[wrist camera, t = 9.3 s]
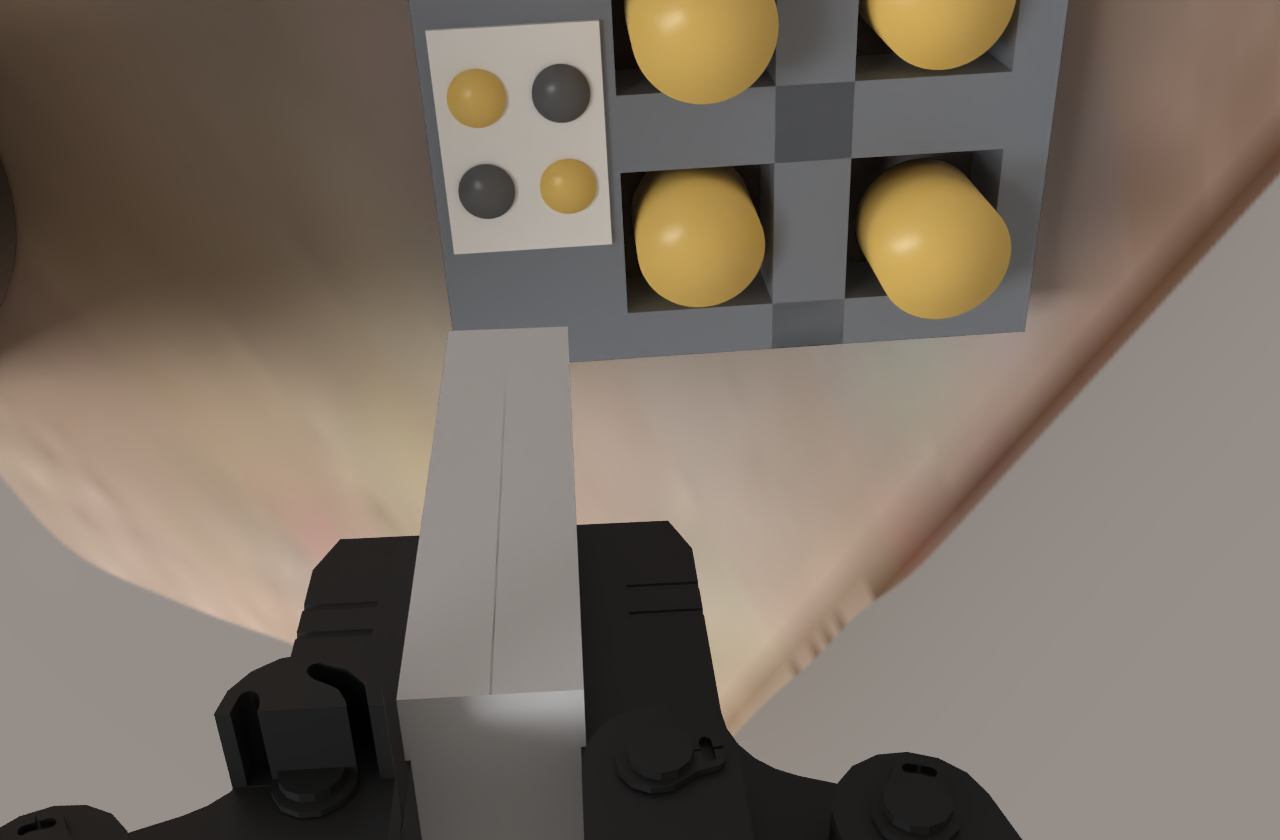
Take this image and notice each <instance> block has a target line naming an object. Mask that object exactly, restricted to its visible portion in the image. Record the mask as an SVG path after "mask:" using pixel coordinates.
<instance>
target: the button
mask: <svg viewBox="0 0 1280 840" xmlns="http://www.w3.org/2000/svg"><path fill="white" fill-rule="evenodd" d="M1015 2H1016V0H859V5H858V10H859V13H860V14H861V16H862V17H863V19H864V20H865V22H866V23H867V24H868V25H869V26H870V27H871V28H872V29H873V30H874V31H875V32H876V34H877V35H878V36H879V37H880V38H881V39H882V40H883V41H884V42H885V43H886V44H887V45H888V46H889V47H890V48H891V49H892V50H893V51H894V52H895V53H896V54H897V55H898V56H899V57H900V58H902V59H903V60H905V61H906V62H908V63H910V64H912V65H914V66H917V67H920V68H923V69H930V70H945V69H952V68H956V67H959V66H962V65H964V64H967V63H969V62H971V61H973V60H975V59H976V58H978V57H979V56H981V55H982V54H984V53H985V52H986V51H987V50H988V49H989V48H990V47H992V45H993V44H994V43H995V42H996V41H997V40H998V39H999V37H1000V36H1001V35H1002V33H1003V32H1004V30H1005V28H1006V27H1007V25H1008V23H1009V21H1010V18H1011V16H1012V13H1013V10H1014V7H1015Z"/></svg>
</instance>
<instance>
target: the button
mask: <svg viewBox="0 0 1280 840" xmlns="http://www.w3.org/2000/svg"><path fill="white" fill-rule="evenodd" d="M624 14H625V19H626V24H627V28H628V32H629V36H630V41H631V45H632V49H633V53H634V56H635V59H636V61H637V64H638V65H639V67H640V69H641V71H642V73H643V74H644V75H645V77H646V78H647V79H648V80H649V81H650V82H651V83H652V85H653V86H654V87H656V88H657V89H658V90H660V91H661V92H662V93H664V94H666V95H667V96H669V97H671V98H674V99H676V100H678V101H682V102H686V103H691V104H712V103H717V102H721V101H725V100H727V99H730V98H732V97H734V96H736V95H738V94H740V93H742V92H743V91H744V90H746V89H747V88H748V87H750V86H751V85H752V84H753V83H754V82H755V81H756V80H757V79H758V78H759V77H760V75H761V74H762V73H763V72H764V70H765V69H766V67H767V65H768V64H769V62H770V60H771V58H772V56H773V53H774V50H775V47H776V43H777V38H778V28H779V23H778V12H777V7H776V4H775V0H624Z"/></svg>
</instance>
